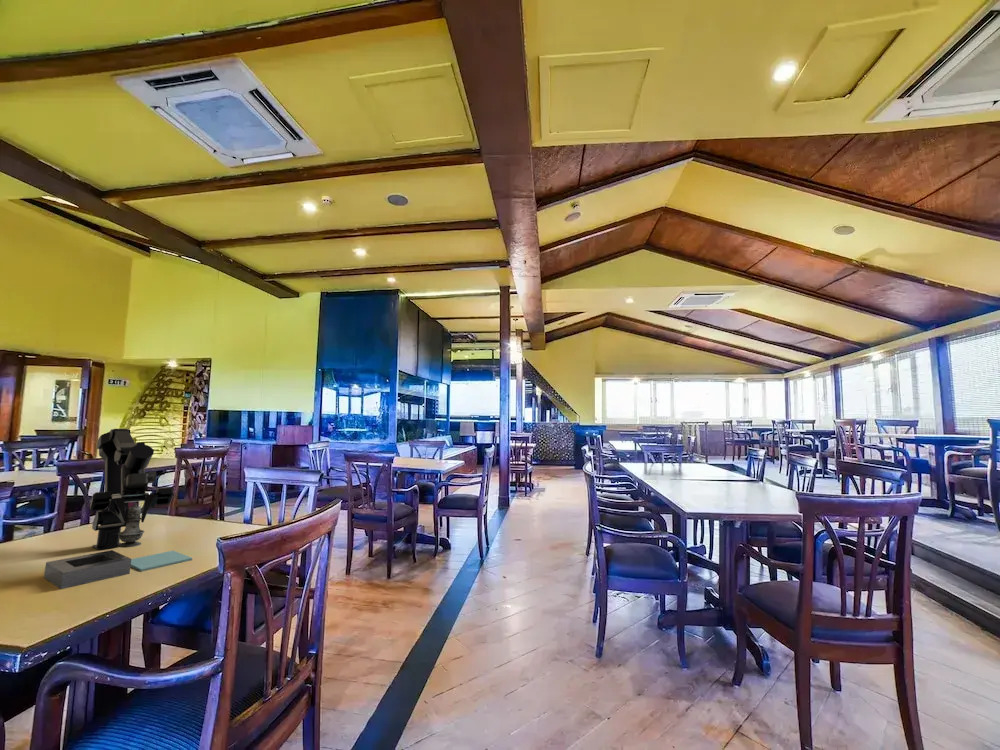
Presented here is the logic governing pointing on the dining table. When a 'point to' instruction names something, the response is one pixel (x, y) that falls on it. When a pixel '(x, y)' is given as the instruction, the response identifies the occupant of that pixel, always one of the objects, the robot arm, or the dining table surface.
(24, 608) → the dining table surface
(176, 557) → the teal mat
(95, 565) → the square socket
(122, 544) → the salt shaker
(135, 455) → the robot arm
